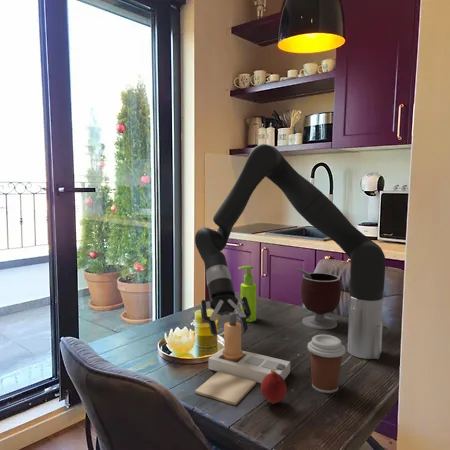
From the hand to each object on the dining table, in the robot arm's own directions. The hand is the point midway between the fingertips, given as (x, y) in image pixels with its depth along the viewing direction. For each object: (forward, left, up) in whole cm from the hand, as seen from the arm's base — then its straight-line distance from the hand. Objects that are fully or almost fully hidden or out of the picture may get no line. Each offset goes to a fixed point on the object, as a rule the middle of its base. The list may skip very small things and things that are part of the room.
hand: (230, 333), depth 109 cm
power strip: (-7, +2, -8) cm, 11 cm away
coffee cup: (-27, 0, -9) cm, 28 cm away
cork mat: (-6, +13, -8) cm, 16 cm away
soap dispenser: (+11, -34, -9) cm, 37 cm away
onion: (-18, +13, -9) cm, 24 cm away
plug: (-2, +2, -9) cm, 9 cm away
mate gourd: (-13, -43, -9) cm, 46 cm away
